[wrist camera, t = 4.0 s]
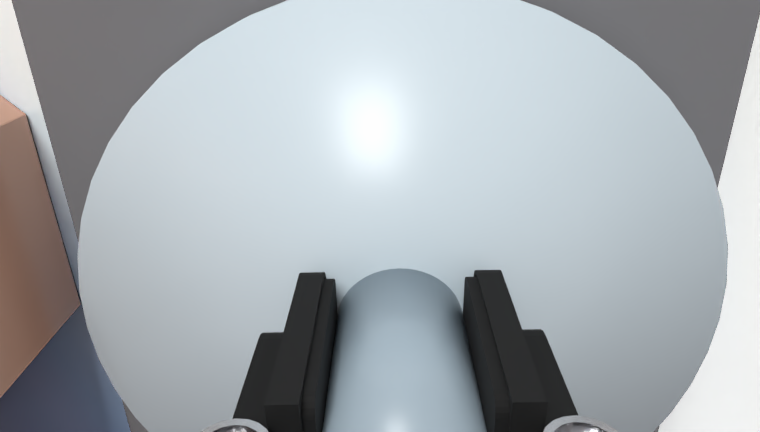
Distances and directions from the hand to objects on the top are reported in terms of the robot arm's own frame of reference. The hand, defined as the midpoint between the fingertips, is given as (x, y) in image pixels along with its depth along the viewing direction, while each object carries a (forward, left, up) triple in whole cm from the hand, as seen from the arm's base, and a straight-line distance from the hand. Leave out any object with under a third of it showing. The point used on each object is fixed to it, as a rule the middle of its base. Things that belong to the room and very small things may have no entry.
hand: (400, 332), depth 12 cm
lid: (0, 0, -1) cm, 1 cm away
